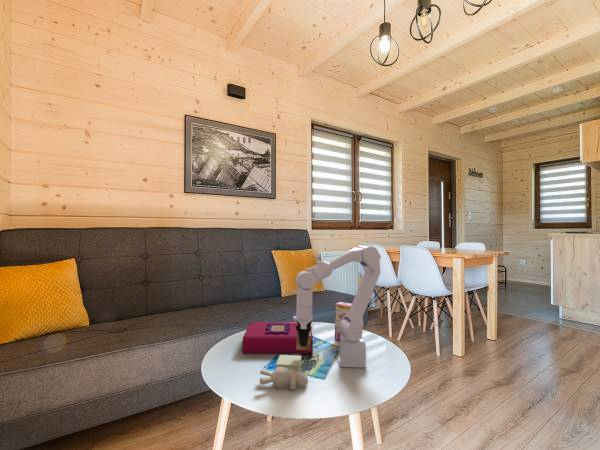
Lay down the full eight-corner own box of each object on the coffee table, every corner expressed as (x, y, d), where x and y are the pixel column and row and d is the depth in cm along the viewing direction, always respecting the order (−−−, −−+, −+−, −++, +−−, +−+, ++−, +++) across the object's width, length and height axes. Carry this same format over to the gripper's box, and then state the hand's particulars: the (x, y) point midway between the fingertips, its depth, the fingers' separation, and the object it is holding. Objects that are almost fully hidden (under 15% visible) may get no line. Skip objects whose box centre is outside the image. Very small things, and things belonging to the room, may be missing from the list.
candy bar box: (334, 340, 138) (334, 303, 138) (338, 337, 143) (339, 301, 143) (357, 345, 132) (358, 307, 132) (362, 342, 136) (362, 304, 137)
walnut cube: (310, 344, 115) (310, 331, 115) (310, 350, 110) (310, 335, 110) (297, 344, 115) (297, 330, 115) (296, 349, 110) (296, 335, 110)
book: (313, 356, 123) (313, 336, 123) (241, 355, 122) (242, 336, 122) (310, 337, 144) (310, 320, 144) (249, 336, 143) (249, 320, 143)
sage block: (301, 365, 114) (301, 355, 114) (299, 375, 106) (299, 365, 106) (279, 364, 115) (279, 354, 115) (276, 374, 107) (276, 364, 107)
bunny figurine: (309, 379, 95) (260, 375, 93) (307, 396, 95) (258, 392, 93) (306, 365, 104) (261, 361, 103) (304, 381, 104) (259, 377, 103)
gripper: (294, 300, 120) (293, 335, 120) (291, 310, 105) (291, 350, 105) (312, 300, 119) (312, 336, 119) (312, 310, 105) (312, 351, 105)
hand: (303, 342), depth 112 cm, fingers closed on walnut cube, 5 cm apart
